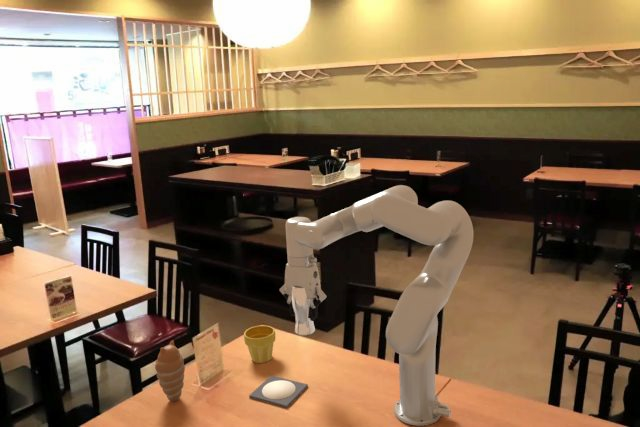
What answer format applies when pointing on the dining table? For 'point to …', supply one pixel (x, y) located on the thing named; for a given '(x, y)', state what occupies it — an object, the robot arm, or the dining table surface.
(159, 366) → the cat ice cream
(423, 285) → the robot arm
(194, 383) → the dining table surface
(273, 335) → the plant pot
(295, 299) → the beer glass
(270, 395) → the mat
